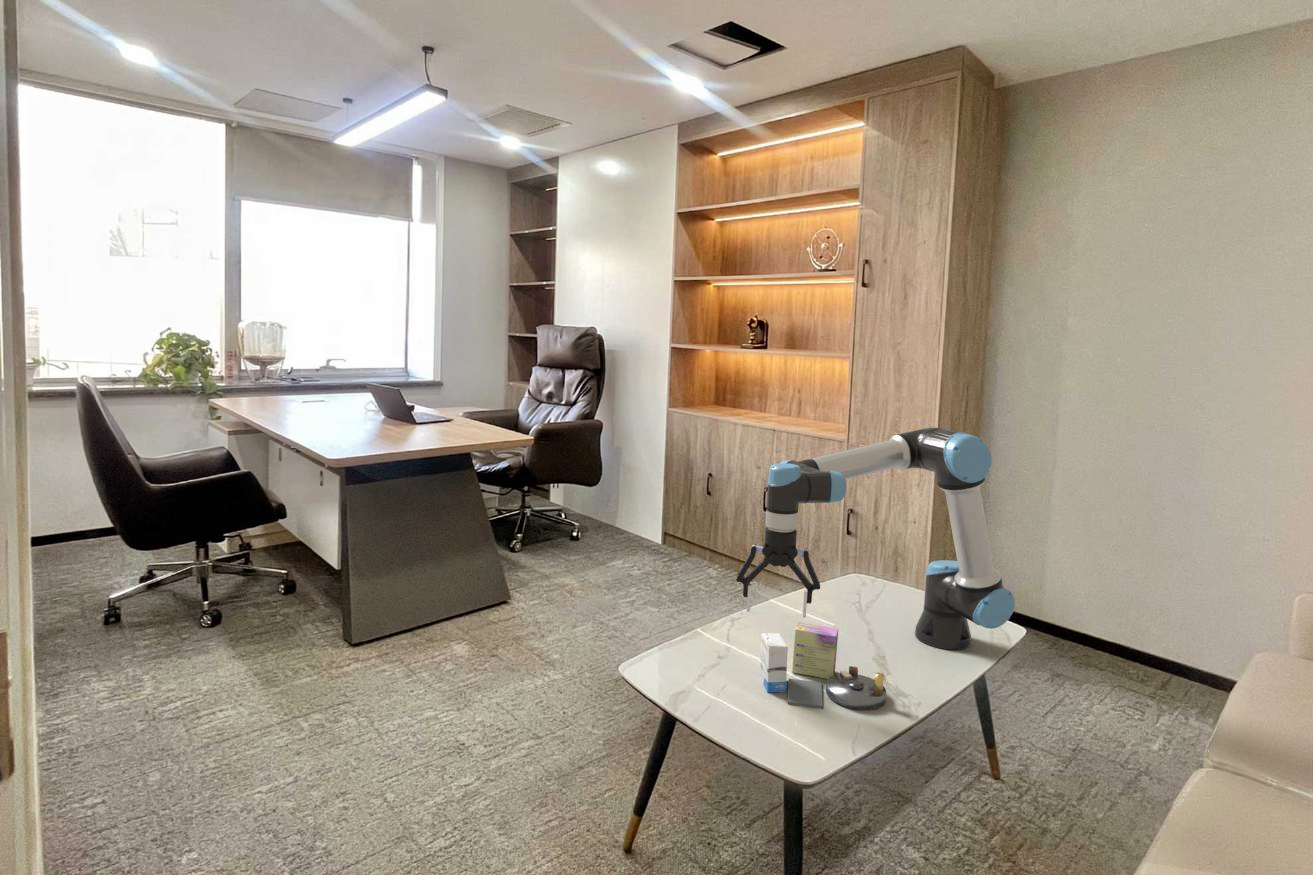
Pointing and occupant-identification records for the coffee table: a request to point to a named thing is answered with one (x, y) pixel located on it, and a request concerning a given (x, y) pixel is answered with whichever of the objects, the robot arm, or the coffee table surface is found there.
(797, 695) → the mat
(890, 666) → the coffee table surface
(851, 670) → the brown short block
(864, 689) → the dark pot lid
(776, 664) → the ink box
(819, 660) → the box
